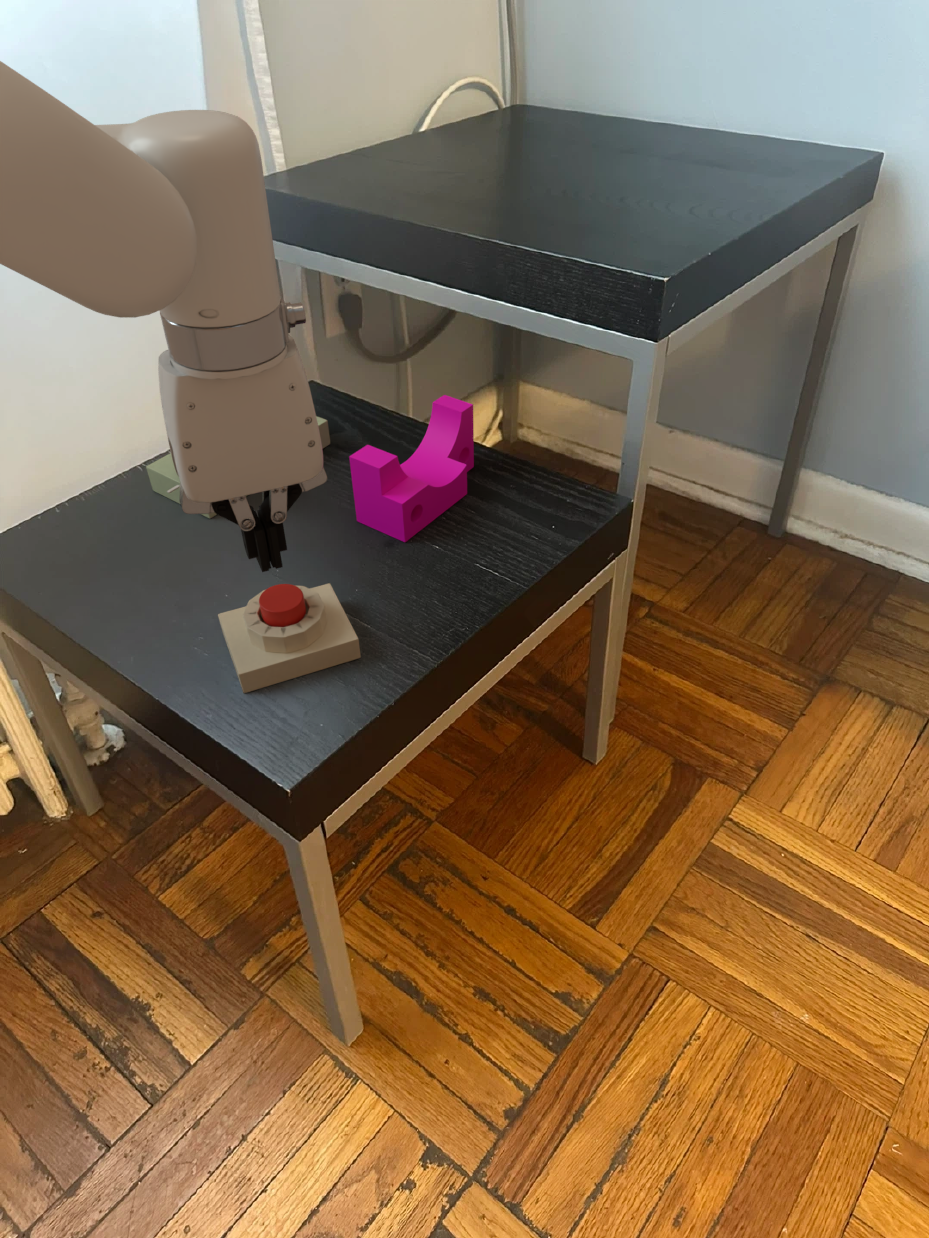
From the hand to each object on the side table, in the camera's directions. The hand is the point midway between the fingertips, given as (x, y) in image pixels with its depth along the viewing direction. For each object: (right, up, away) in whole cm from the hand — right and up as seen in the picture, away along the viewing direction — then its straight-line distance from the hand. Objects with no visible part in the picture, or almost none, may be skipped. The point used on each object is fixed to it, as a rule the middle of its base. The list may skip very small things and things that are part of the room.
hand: (267, 559), depth 69 cm
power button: (0, -4, +4) cm, 6 cm away
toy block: (+11, +8, +23) cm, 27 cm away
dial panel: (-9, +11, +27) cm, 31 cm away
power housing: (0, -7, +7) cm, 10 cm away
